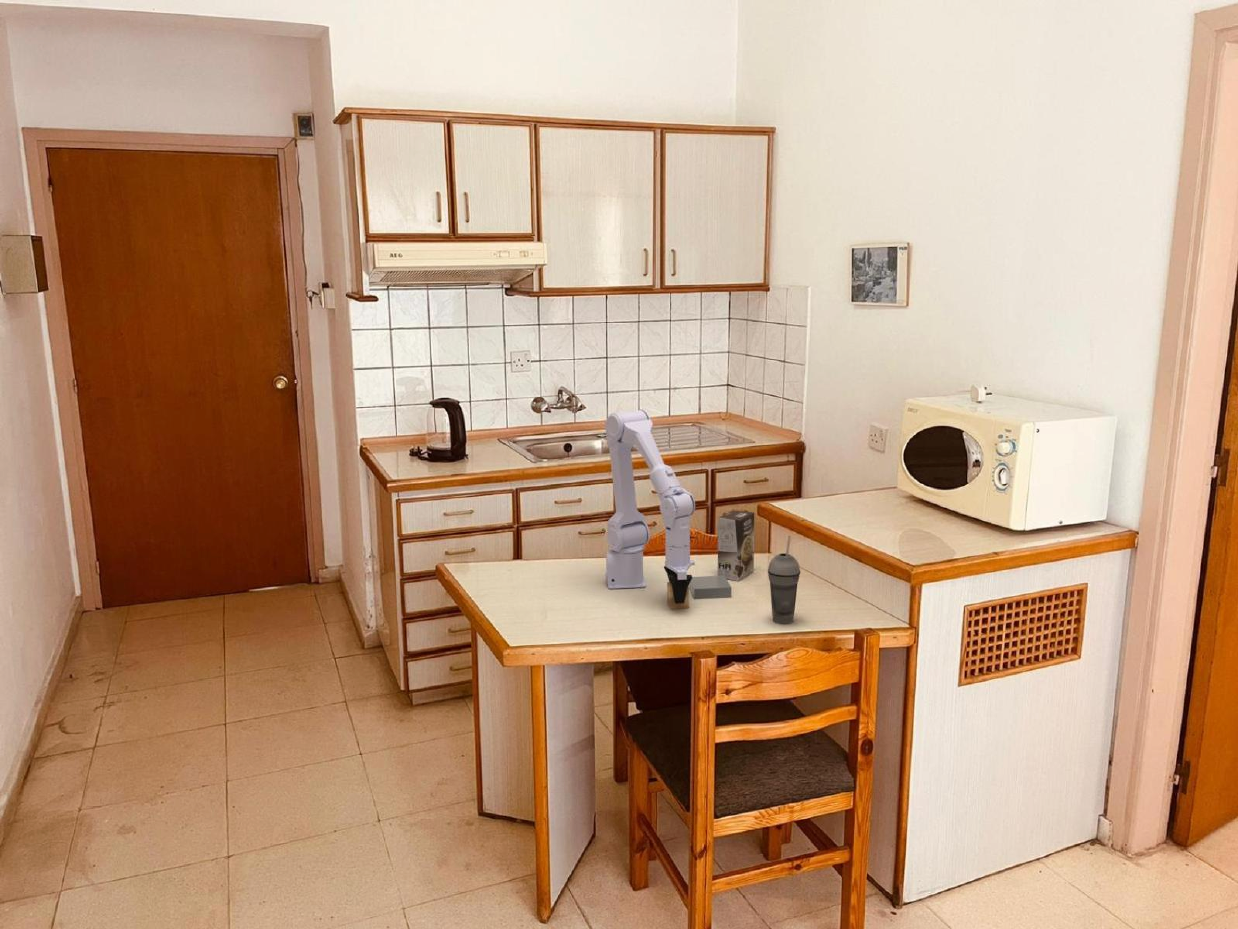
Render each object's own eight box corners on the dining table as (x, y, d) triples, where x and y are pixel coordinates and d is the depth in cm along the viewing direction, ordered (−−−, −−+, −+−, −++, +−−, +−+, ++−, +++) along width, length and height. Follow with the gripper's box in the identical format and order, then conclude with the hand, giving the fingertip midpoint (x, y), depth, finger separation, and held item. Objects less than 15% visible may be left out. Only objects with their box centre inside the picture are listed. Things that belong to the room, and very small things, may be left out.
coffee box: (739, 581, 245) (740, 520, 241) (716, 577, 248) (716, 516, 245) (754, 571, 252) (755, 511, 249) (732, 568, 256) (732, 508, 252)
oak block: (669, 608, 227) (669, 588, 226) (667, 602, 231) (667, 582, 230) (688, 607, 227) (688, 587, 226) (686, 601, 232) (685, 581, 231)
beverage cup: (777, 612, 223) (778, 528, 219) (805, 619, 219) (807, 534, 215) (760, 621, 218) (761, 536, 214) (789, 629, 213) (790, 541, 209)
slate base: (694, 599, 233) (694, 589, 233) (688, 586, 242) (688, 577, 241) (731, 597, 234) (731, 587, 233) (724, 585, 242) (724, 575, 242)
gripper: (699, 552, 219) (699, 609, 222) (689, 534, 234) (689, 588, 236) (668, 553, 219) (669, 610, 222) (660, 535, 233) (661, 589, 236)
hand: (677, 599), depth 229 cm, fingers closed on oak block, 4 cm apart
